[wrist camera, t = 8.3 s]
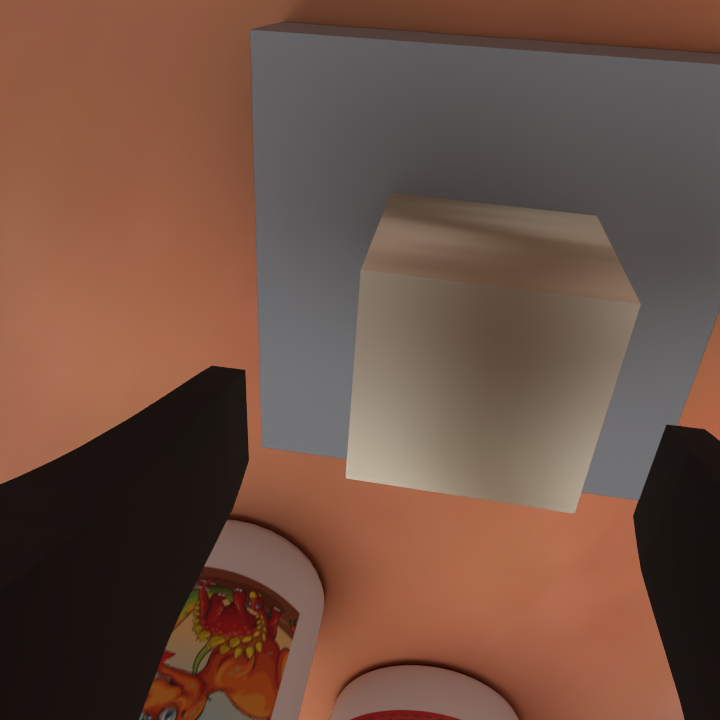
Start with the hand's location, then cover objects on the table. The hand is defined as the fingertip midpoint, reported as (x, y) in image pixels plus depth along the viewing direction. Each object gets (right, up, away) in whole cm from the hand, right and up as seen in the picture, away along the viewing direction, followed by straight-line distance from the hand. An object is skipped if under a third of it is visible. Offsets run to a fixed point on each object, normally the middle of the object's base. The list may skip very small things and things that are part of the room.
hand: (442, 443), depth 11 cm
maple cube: (+2, +3, +6) cm, 7 cm away
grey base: (+2, +5, +8) cm, 10 cm away
